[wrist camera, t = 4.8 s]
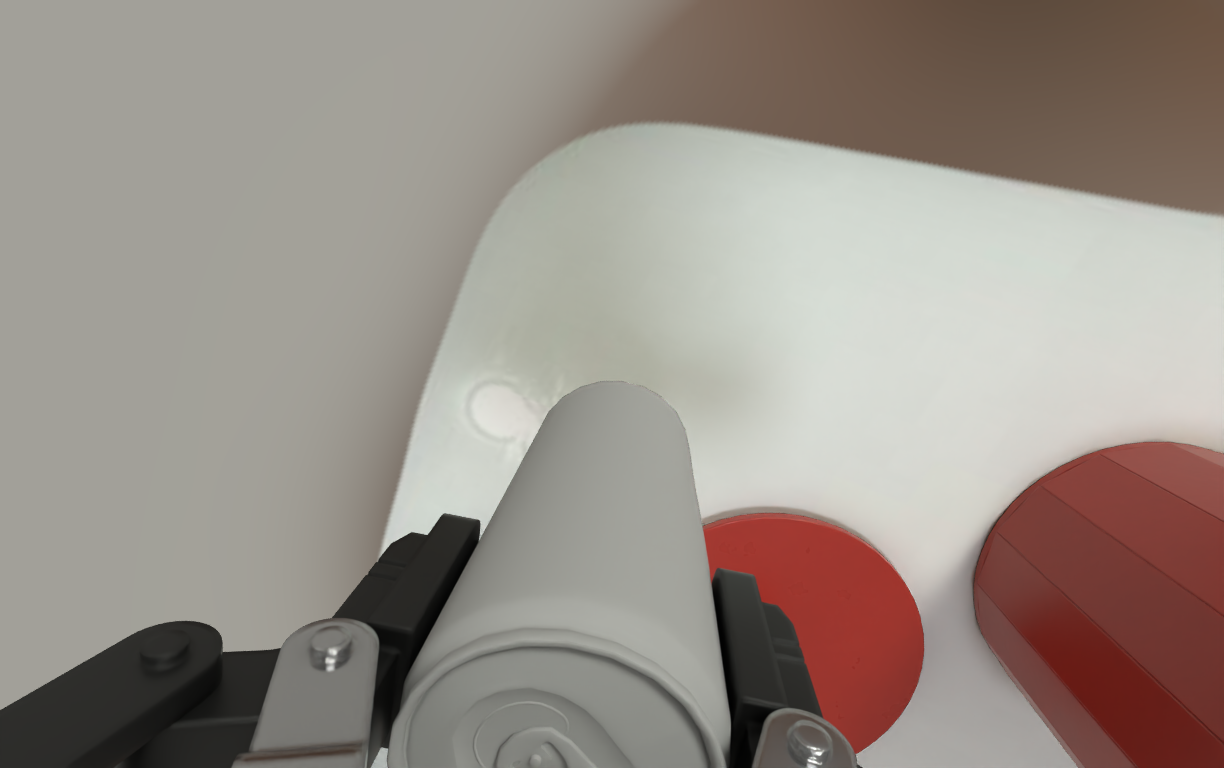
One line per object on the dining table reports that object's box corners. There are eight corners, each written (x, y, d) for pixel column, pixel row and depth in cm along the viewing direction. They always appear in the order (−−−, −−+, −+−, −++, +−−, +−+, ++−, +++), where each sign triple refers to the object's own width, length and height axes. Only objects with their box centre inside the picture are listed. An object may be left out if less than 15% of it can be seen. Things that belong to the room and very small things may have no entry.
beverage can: (626, 344, 19) (576, 558, 7) (722, 462, 20) (814, 824, 8) (508, 435, 20) (302, 748, 8) (603, 544, 21) (535, 967, 9)
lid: (560, 600, 32) (538, 687, 26) (818, 450, 29) (858, 510, 23) (717, 799, 34) (729, 920, 29) (969, 681, 31) (1041, 789, 26)
